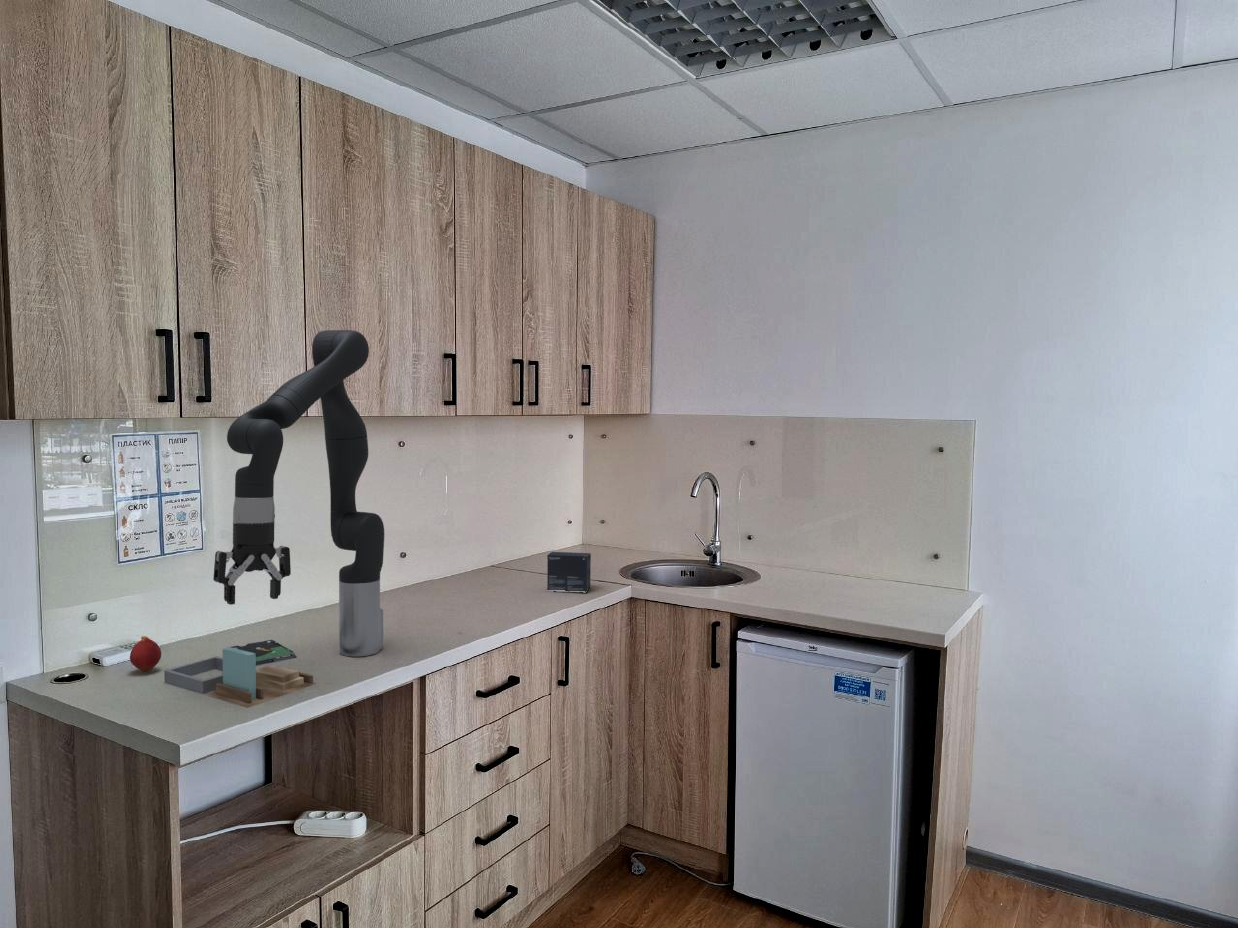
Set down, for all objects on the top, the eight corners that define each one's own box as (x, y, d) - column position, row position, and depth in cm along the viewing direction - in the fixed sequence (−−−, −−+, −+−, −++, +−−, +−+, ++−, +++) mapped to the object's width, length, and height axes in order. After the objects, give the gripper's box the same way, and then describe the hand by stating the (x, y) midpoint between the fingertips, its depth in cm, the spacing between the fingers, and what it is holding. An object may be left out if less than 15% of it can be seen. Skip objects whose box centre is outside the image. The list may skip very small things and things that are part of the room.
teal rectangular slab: (229, 691, 163) (228, 646, 162) (256, 698, 159) (255, 653, 158) (223, 693, 162) (222, 648, 161) (249, 701, 158) (249, 655, 157)
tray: (216, 672, 178) (216, 655, 178) (254, 682, 172) (254, 665, 171) (164, 687, 168) (164, 670, 167) (203, 699, 162) (202, 681, 161)
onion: (148, 666, 181) (147, 630, 180) (167, 669, 179) (167, 633, 178) (124, 674, 175) (123, 637, 175) (143, 677, 173) (142, 640, 173)
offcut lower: (274, 675, 173) (274, 669, 172) (303, 683, 168) (303, 677, 168) (253, 682, 168) (253, 676, 168) (283, 690, 164) (283, 684, 164)
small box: (591, 589, 265) (591, 552, 265) (586, 594, 259) (587, 556, 258) (551, 587, 267) (551, 550, 267) (546, 591, 261) (546, 554, 260)
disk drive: (226, 659, 189) (250, 674, 178) (226, 647, 189) (250, 661, 178) (272, 650, 196) (298, 664, 186) (272, 638, 196) (297, 652, 185)
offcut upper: (269, 671, 172) (269, 665, 172) (299, 676, 169) (299, 670, 169) (252, 677, 168) (252, 671, 168) (282, 683, 165) (282, 676, 165)
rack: (274, 677, 175) (274, 663, 175) (316, 688, 169) (316, 673, 168) (204, 700, 161) (204, 684, 161) (247, 713, 155) (247, 697, 154)
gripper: (280, 516, 170) (279, 594, 171) (208, 519, 160) (207, 602, 160) (297, 519, 165) (296, 599, 166) (224, 523, 155) (223, 608, 155)
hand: (252, 601), depth 163 cm, fingers open, 8 cm apart
